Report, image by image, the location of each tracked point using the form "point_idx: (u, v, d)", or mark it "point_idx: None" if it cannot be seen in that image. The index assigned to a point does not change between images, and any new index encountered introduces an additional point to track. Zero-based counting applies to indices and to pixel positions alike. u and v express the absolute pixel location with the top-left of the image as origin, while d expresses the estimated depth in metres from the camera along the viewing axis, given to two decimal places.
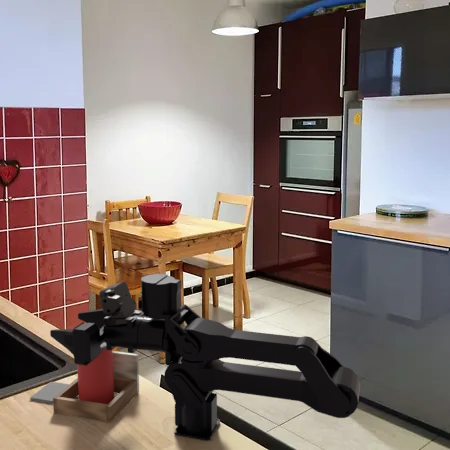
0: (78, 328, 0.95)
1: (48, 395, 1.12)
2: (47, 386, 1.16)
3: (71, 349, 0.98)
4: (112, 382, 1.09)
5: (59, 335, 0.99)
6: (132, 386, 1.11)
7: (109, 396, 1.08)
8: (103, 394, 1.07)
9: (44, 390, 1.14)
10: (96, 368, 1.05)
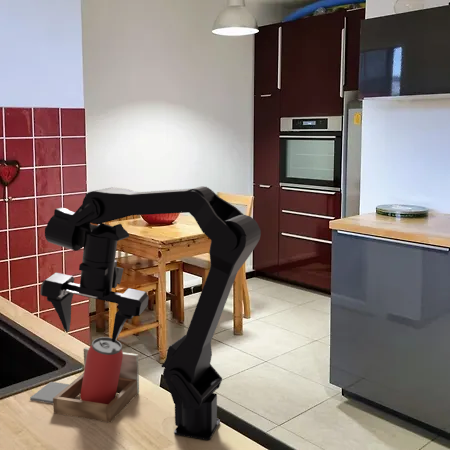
0: None
1: (48, 395, 1.12)
2: (47, 386, 1.16)
3: None
4: (117, 384, 1.08)
5: None
6: (132, 386, 1.11)
7: (111, 397, 1.07)
8: (107, 395, 1.06)
9: (44, 390, 1.14)
10: (105, 371, 1.04)
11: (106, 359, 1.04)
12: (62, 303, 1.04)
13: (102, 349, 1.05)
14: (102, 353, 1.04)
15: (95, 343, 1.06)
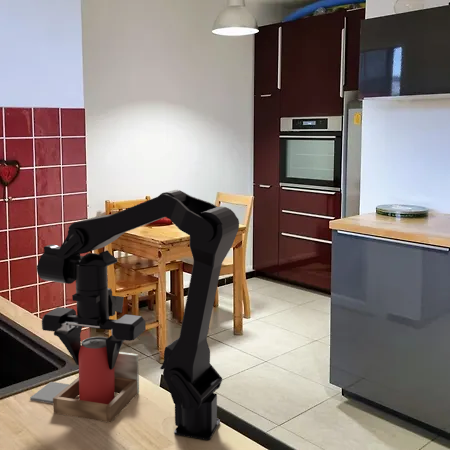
0: None
1: (48, 395, 1.12)
2: (47, 386, 1.16)
3: None
4: (112, 381, 1.09)
5: None
6: (132, 386, 1.11)
7: (108, 394, 1.08)
8: (103, 392, 1.07)
9: (44, 390, 1.14)
10: (97, 365, 1.06)
11: (96, 353, 1.06)
12: (68, 336, 1.06)
13: (91, 345, 1.07)
14: (91, 347, 1.06)
15: (85, 342, 1.09)
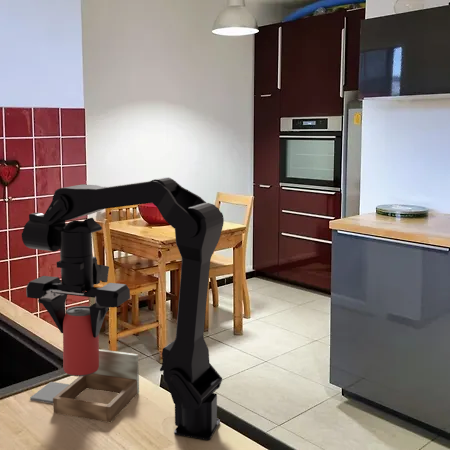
0: None
1: (48, 395, 1.12)
2: (47, 386, 1.16)
3: None
4: (97, 349, 1.09)
5: None
6: (132, 386, 1.11)
7: (92, 362, 1.08)
8: (87, 360, 1.07)
9: (44, 390, 1.14)
10: (81, 333, 1.06)
11: (80, 321, 1.06)
12: (52, 303, 1.06)
13: (76, 313, 1.07)
14: (75, 315, 1.06)
15: (70, 310, 1.09)
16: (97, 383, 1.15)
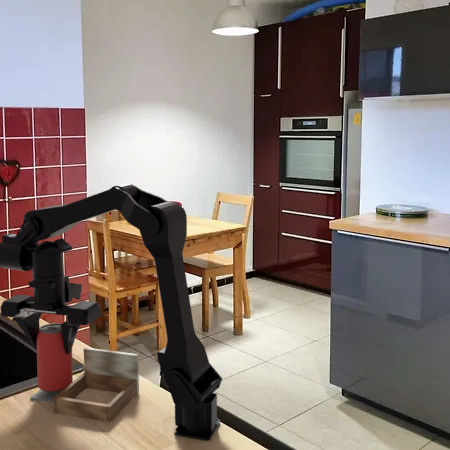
0: None
1: (48, 395, 1.12)
2: None
3: None
4: (70, 365, 1.12)
5: None
6: (132, 386, 1.11)
7: (65, 378, 1.11)
8: (60, 376, 1.10)
9: None
10: (53, 350, 1.09)
11: (52, 338, 1.09)
12: (26, 322, 1.10)
13: (49, 331, 1.10)
14: (48, 333, 1.09)
15: (43, 328, 1.12)
16: (97, 383, 1.15)
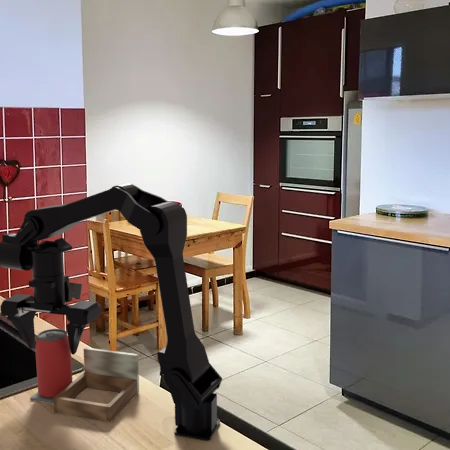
0: None
1: None
2: None
3: None
4: (69, 371, 1.12)
5: None
6: (132, 386, 1.11)
7: (65, 384, 1.11)
8: (60, 383, 1.10)
9: None
10: (52, 357, 1.09)
11: (50, 346, 1.09)
12: (20, 321, 1.10)
13: (47, 338, 1.10)
14: (46, 340, 1.09)
15: (41, 334, 1.12)
16: (97, 383, 1.15)
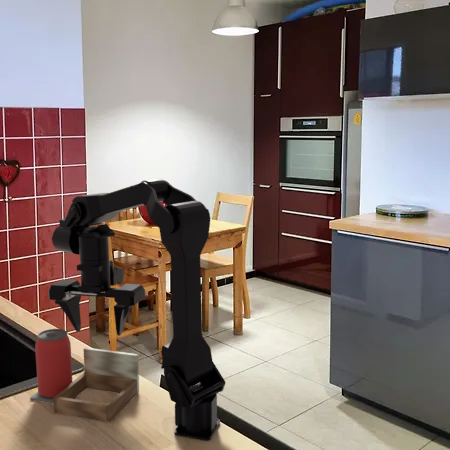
0: None
1: None
2: None
3: None
4: (69, 371, 1.12)
5: None
6: (132, 386, 1.11)
7: (65, 384, 1.11)
8: (60, 383, 1.10)
9: None
10: (52, 357, 1.09)
11: (51, 346, 1.09)
12: (68, 304, 1.15)
13: (47, 338, 1.10)
14: (46, 340, 1.09)
15: (41, 334, 1.12)
16: (97, 383, 1.15)
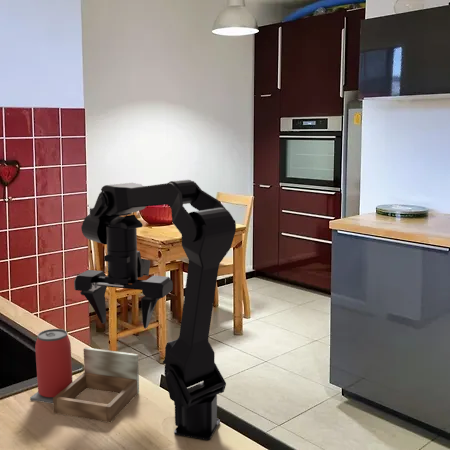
0: None
1: None
2: None
3: None
4: (69, 371, 1.12)
5: None
6: (132, 386, 1.11)
7: (65, 384, 1.11)
8: (60, 383, 1.10)
9: None
10: (52, 357, 1.09)
11: (51, 346, 1.09)
12: (94, 295, 1.12)
13: (47, 338, 1.10)
14: (46, 340, 1.09)
15: (41, 334, 1.12)
16: (97, 383, 1.15)
